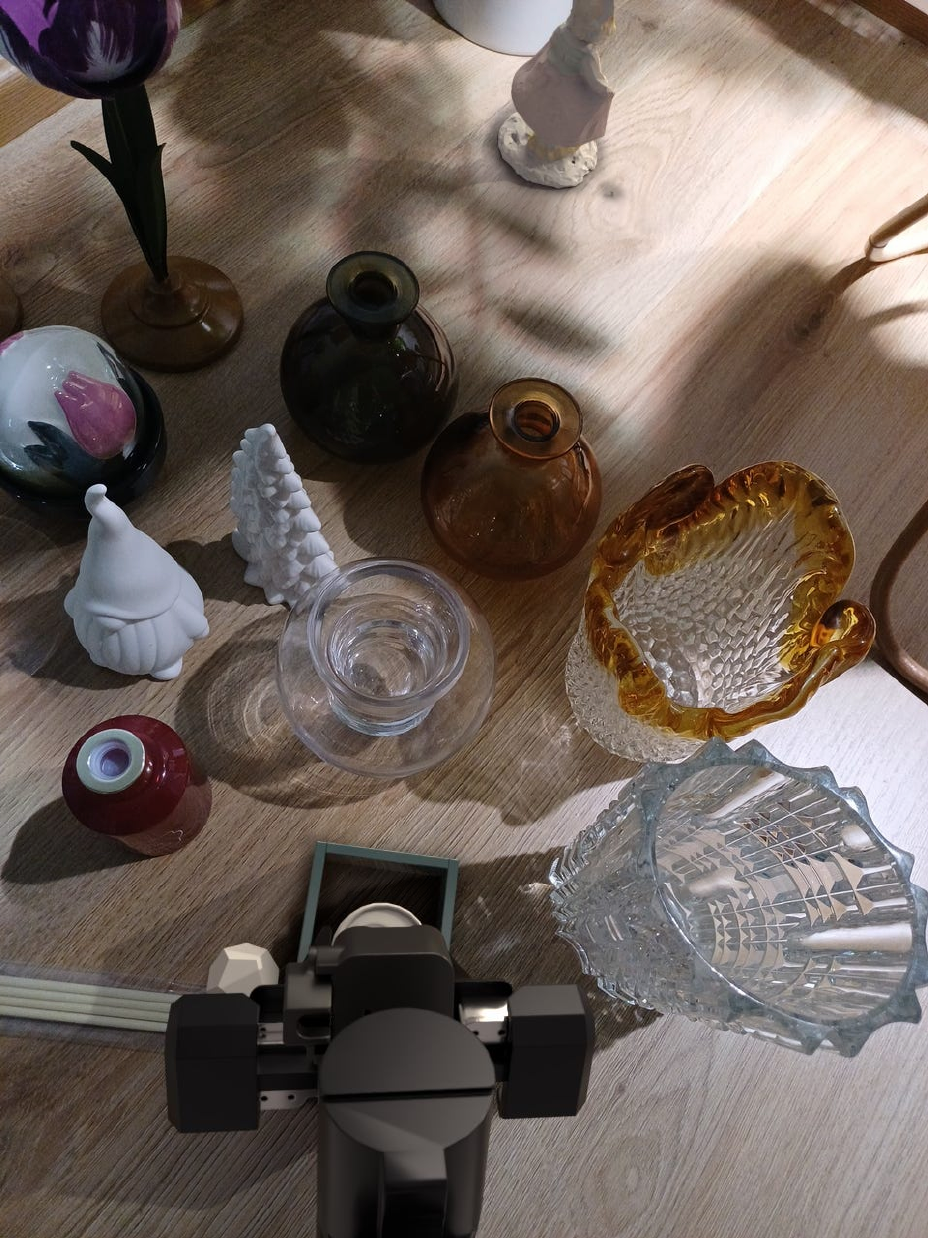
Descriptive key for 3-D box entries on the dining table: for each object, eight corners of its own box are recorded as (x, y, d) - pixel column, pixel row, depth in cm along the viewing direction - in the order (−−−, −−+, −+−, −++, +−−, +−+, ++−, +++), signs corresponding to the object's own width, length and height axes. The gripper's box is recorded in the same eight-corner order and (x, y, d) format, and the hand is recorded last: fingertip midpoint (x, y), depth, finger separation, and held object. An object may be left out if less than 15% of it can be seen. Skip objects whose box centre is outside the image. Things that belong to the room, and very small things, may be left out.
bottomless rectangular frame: (427, 1088, 58) (434, 1092, 55) (280, 1072, 57) (278, 1075, 54) (452, 867, 63) (459, 859, 59) (316, 850, 62) (316, 840, 59)
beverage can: (362, 1028, 59) (372, 1031, 48) (310, 959, 60) (309, 946, 49) (428, 971, 60) (453, 961, 49) (377, 904, 61) (390, 880, 50)
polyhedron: (216, 1026, 58) (211, 1027, 55) (202, 958, 59) (196, 954, 56) (287, 1004, 59) (286, 1003, 56) (272, 937, 60) (269, 932, 57)
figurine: (652, 128, 85) (688, 7, 70) (596, 232, 85) (620, 132, 70) (536, 70, 86) (547, -62, 71) (479, 173, 85) (478, 61, 70)
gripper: (654, 1042, 38) (568, 801, 52) (129, 1060, 36) (188, 802, 50) (614, 1245, 43) (545, 972, 57) (146, 1273, 40) (195, 981, 54)
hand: (376, 931), depth 54 cm, fingers closed on beverage can, 5 cm apart
